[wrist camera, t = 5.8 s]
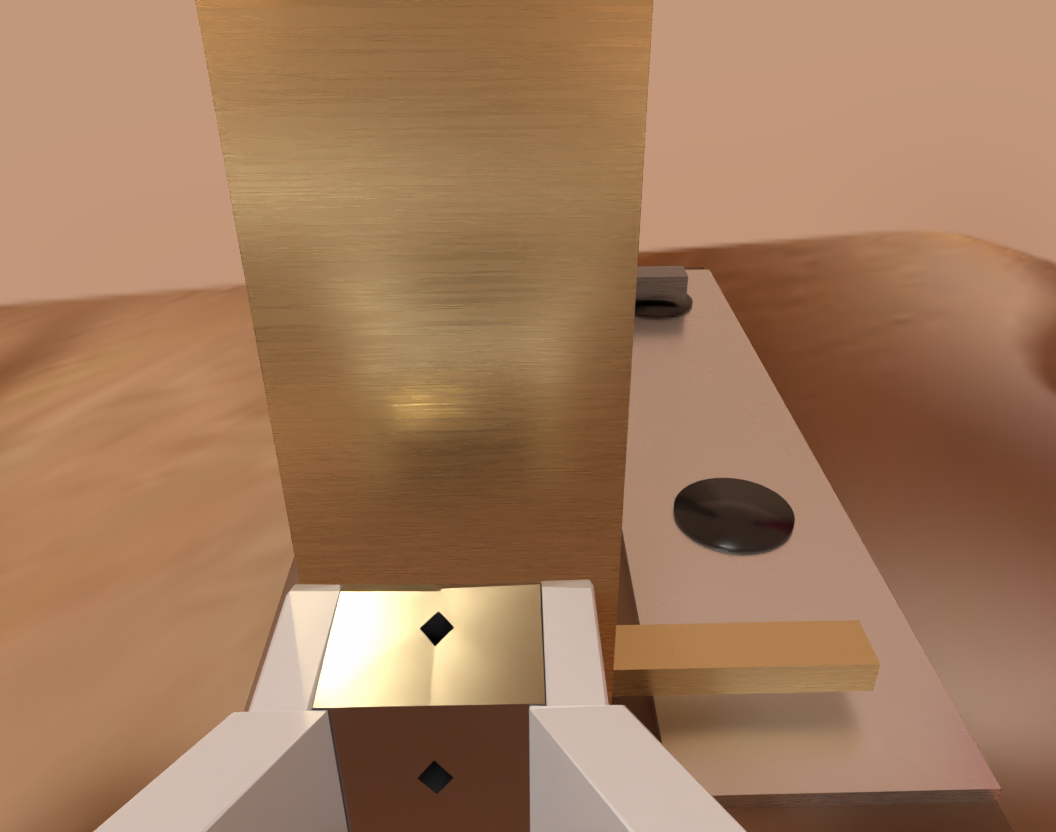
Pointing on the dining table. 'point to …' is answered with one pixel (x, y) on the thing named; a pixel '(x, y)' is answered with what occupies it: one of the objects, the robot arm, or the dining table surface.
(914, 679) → the bolt strip
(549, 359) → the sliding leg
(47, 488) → the dining table surface
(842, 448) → the dining table surface
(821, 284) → the dining table surface
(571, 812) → the robot arm
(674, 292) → the fixed leg
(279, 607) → the walnut board
